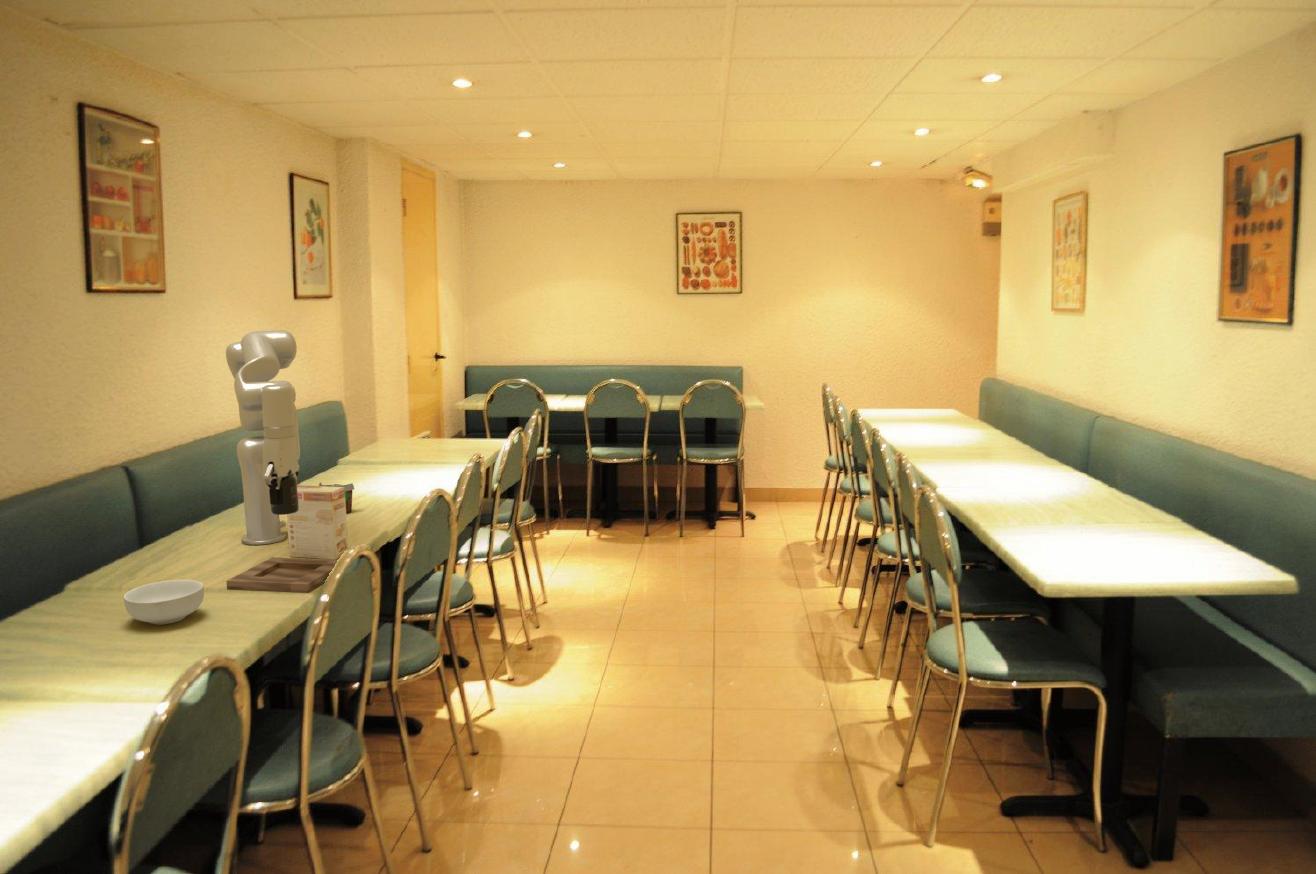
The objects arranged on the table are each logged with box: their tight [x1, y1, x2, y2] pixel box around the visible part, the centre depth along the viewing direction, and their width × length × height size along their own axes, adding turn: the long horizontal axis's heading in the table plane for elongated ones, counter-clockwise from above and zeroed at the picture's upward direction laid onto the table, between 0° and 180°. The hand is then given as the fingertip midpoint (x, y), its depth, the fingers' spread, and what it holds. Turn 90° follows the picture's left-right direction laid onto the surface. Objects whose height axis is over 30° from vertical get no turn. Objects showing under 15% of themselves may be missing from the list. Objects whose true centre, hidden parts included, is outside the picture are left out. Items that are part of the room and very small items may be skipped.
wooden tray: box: [225, 557, 338, 594], centre depth 270 cm, size 22×22×2 cm
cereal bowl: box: [123, 579, 205, 626], centre depth 239 cm, size 17×17×7 cm
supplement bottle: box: [271, 471, 299, 516], centre depth 267 cm, size 7×7×12 cm
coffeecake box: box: [286, 484, 349, 560], centre depth 291 cm, size 15×7×20 cm, turn 74°
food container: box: [318, 482, 355, 515], centre depth 342 cm, size 12×6×10 cm, turn 81°
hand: (284, 500), depth 267 cm, fingers closed on supplement bottle, 6 cm apart
